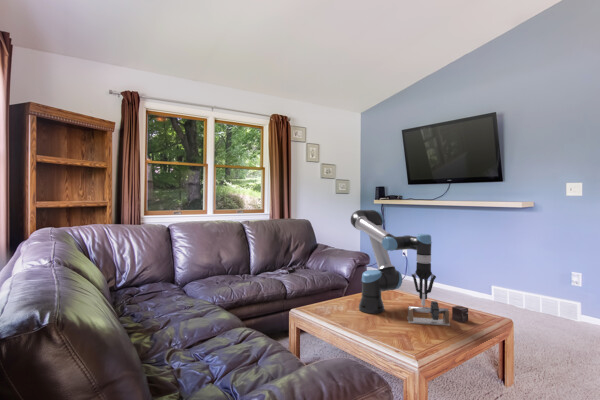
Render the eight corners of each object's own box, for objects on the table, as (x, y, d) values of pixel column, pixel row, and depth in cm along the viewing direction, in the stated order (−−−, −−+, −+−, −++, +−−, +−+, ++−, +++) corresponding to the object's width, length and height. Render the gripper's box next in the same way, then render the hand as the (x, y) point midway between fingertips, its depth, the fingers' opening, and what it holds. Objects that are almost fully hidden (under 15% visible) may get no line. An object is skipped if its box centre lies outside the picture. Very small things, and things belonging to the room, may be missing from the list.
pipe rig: (409, 322, 180) (409, 308, 180) (407, 318, 187) (407, 304, 187) (450, 325, 176) (450, 310, 177) (446, 321, 183) (446, 306, 183)
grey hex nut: (434, 321, 177) (434, 304, 177) (430, 316, 186) (430, 299, 186) (439, 322, 176) (439, 304, 177) (435, 316, 185) (435, 299, 186)
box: (461, 323, 180) (461, 309, 180) (451, 319, 186) (451, 306, 186) (468, 321, 183) (468, 308, 183) (458, 318, 188) (458, 305, 189)
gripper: (412, 263, 180) (411, 306, 180) (437, 264, 178) (437, 307, 178) (410, 260, 188) (409, 302, 188) (434, 261, 185) (433, 303, 185)
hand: (423, 304), depth 183 cm, fingers closed
